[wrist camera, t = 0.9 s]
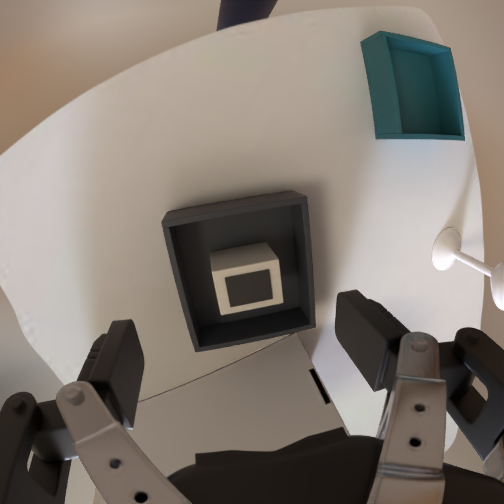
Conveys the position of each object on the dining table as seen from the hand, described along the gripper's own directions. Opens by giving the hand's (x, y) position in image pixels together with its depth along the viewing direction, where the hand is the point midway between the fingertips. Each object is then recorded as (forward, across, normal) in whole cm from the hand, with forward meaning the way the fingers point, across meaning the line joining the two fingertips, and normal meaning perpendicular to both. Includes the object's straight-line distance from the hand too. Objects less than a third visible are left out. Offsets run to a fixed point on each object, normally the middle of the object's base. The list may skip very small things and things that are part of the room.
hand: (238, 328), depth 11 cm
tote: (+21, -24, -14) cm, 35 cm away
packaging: (+21, +4, +24) cm, 32 cm away
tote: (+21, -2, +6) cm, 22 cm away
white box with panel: (+20, -2, +6) cm, 21 cm away
